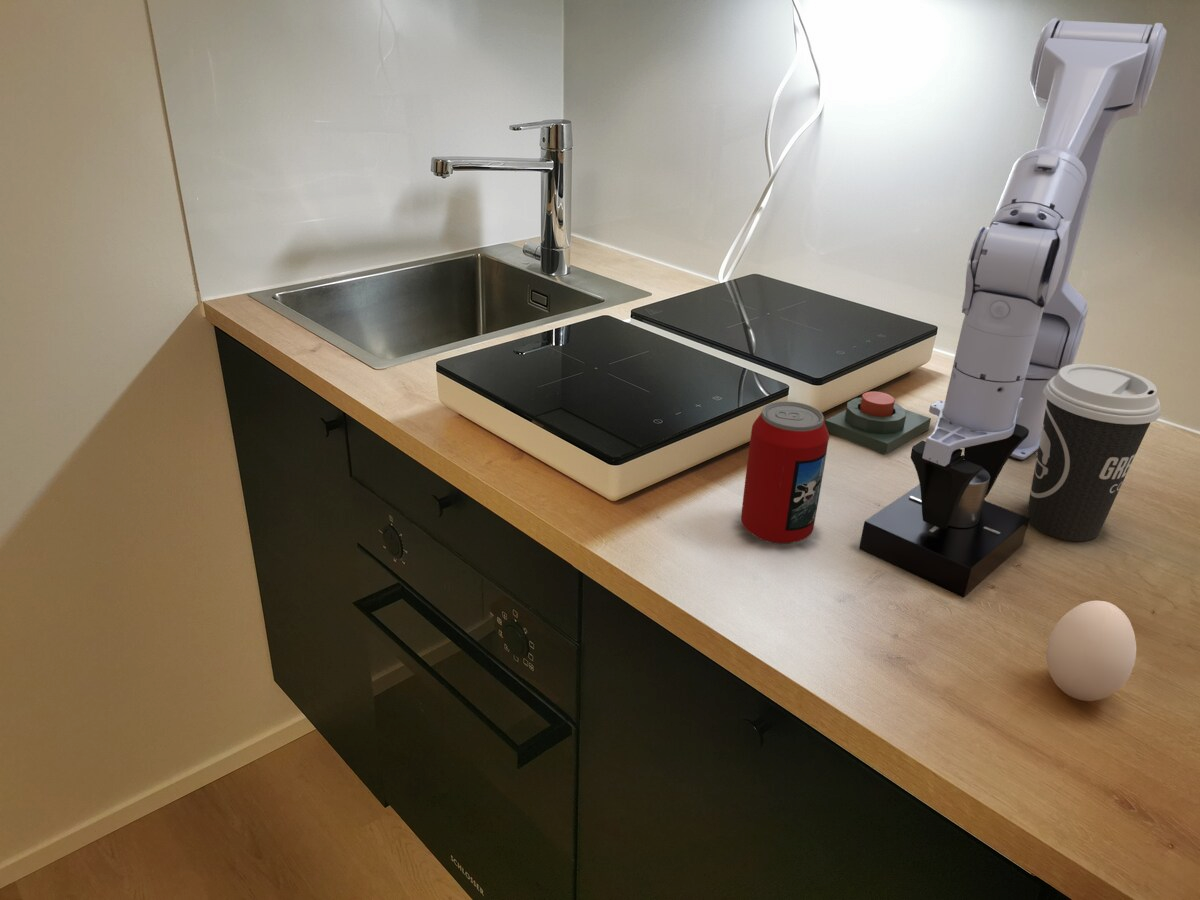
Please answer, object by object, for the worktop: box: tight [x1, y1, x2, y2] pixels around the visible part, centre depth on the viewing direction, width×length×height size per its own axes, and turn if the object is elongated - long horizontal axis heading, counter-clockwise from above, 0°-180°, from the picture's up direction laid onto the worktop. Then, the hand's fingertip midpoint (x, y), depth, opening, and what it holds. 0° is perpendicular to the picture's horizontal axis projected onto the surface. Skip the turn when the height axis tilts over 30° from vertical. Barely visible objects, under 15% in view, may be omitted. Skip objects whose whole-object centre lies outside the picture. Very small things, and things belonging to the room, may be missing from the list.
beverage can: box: [740, 400, 830, 545], centre depth 82 cm, size 7×7×12 cm
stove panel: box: [858, 483, 1030, 599], centre depth 82 cm, size 12×10×3 cm
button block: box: [824, 397, 932, 455], centre depth 105 cm, size 10×8×3 cm
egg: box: [1045, 599, 1137, 702], centre depth 64 cm, size 6×6×8 cm
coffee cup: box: [1025, 363, 1162, 542], centre depth 84 cm, size 10×10×15 cm
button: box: [860, 391, 896, 417], centre depth 103 cm, size 4×4×2 cm
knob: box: [948, 468, 990, 528], centre depth 81 cm, size 4×4×5 cm
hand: (954, 508), depth 82 cm, fingers open, 7 cm apart
